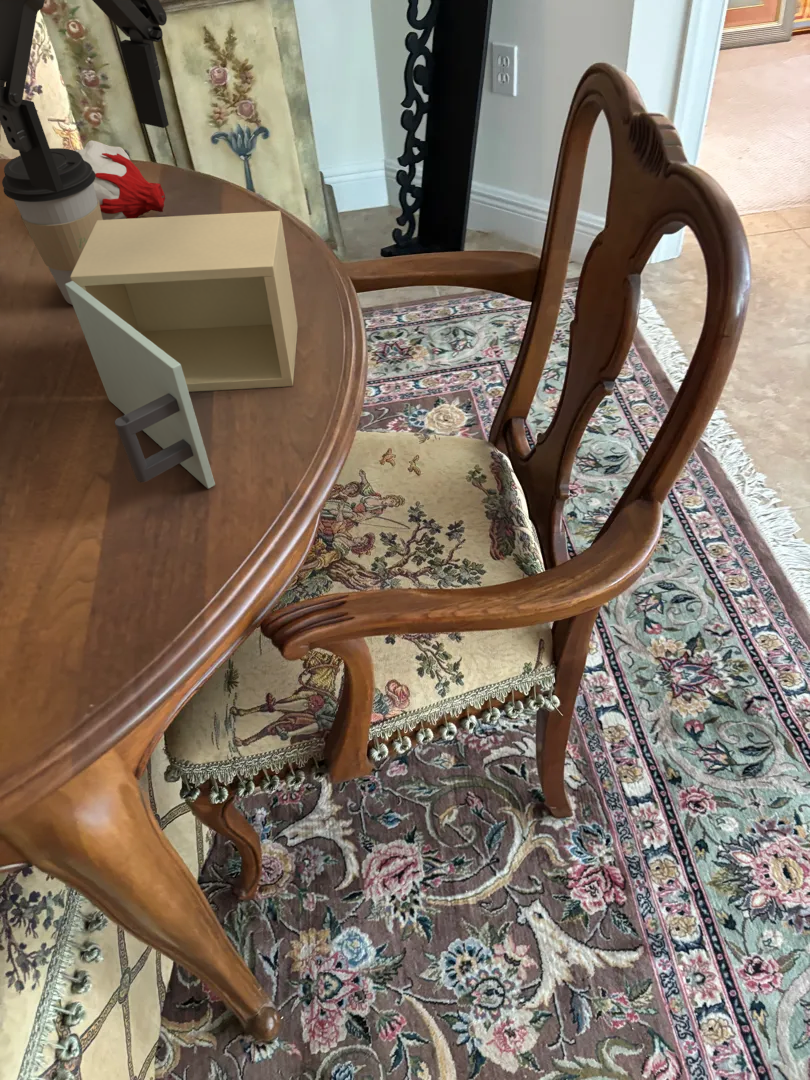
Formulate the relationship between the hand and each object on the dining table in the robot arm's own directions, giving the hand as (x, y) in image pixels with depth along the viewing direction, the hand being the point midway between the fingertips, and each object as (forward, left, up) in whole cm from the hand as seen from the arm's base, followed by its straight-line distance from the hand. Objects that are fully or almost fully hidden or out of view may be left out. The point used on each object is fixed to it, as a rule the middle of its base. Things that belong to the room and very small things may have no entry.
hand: (104, 154), depth 67 cm
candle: (-11, +34, -21) cm, 41 cm away
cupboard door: (0, -15, -21) cm, 26 cm away
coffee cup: (-11, +15, -21) cm, 28 cm away
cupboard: (+5, 0, -21) cm, 21 cm away
